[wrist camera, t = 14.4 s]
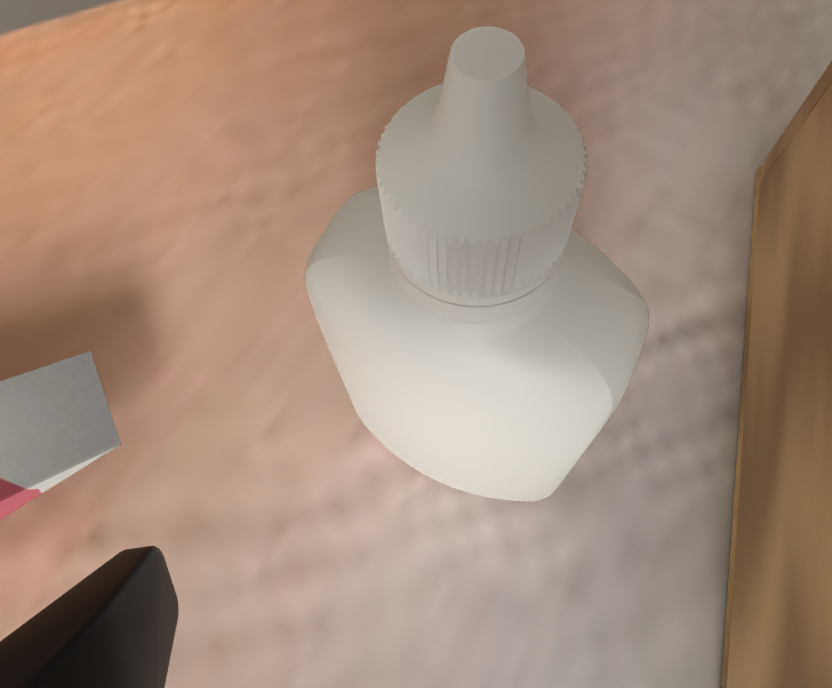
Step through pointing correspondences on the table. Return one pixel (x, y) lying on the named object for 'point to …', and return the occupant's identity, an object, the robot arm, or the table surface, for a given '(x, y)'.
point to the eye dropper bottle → (477, 285)
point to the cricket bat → (51, 428)
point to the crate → (786, 421)
